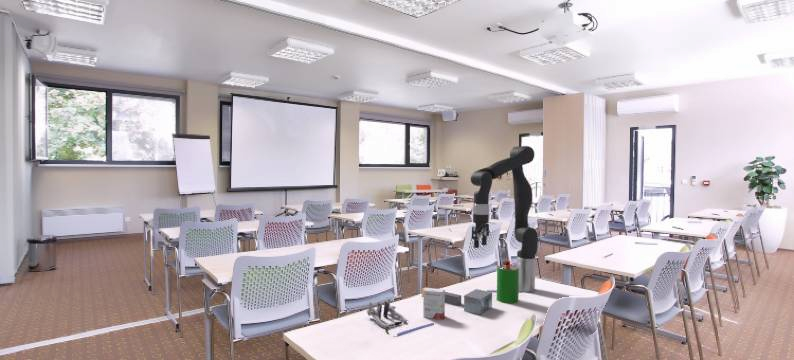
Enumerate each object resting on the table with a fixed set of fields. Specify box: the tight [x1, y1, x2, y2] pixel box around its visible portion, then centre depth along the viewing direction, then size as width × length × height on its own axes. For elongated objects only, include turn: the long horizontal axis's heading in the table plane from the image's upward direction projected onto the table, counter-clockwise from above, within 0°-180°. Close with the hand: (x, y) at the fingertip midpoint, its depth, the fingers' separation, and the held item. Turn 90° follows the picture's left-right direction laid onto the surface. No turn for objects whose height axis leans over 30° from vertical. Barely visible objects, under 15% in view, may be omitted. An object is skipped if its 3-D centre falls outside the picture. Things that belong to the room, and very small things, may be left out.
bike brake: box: [366, 298, 409, 335], centre depth 169 cm, size 14×7×20 cm
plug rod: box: [421, 286, 462, 307], centre depth 196 cm, size 4×20×4 cm, turn 53°
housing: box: [463, 288, 493, 316], centre depth 185 cm, size 12×8×7 cm, turn 143°
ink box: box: [422, 287, 446, 320], centre depth 175 cm, size 9×5×12 cm, turn 71°
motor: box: [496, 259, 520, 304], centre depth 197 cm, size 10×9×20 cm
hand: (480, 246), depth 196 cm, fingers open, 8 cm apart
